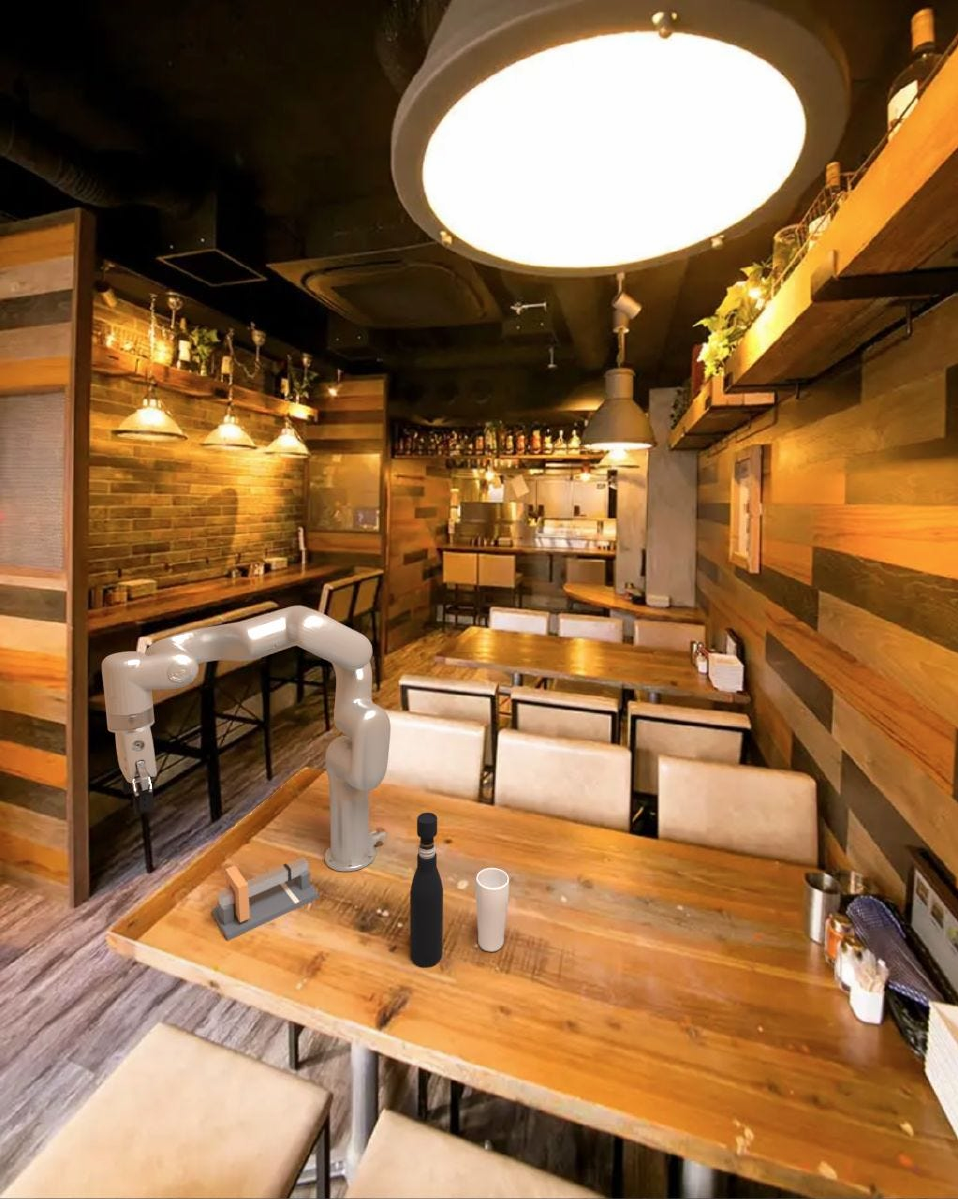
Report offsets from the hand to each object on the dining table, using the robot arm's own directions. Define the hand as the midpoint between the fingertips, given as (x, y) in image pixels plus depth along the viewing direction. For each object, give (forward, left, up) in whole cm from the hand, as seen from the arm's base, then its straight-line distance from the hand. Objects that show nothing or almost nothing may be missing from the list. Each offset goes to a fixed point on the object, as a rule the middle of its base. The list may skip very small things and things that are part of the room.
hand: (138, 801), depth 111 cm
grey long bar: (-22, +4, -27) cm, 35 cm away
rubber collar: (-16, +4, -29) cm, 34 cm away
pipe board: (-22, +4, -31) cm, 38 cm away
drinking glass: (-53, +44, -31) cm, 76 cm away
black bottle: (-41, +38, -31) cm, 64 cm away
